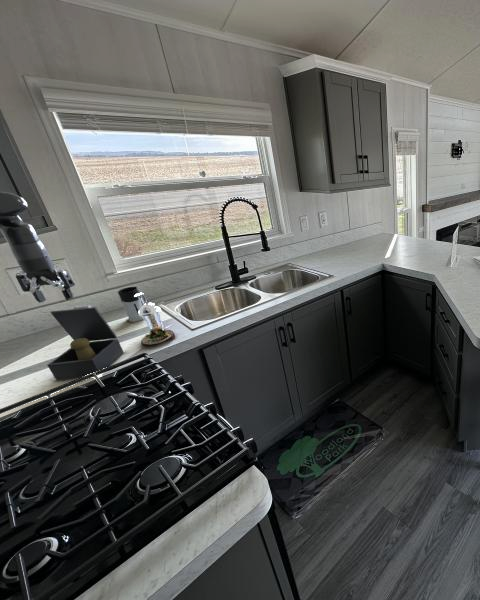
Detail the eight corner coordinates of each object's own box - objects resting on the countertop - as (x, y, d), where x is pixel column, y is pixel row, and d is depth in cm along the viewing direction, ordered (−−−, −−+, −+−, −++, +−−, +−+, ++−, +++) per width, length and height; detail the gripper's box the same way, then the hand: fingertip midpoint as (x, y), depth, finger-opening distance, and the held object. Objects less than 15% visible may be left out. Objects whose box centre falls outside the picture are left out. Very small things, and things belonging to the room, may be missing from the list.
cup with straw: (173, 327, 151) (157, 288, 143) (153, 337, 144) (136, 296, 135) (160, 324, 154) (144, 285, 146) (141, 334, 147) (123, 294, 138)
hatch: (94, 308, 121) (101, 300, 125) (50, 312, 119) (59, 304, 123) (116, 338, 130) (122, 330, 134) (75, 342, 128) (83, 334, 132)
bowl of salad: (135, 348, 136) (128, 333, 133) (154, 333, 147) (148, 319, 144) (164, 347, 136) (158, 331, 133) (180, 332, 147) (175, 317, 144)
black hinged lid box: (100, 375, 121) (92, 359, 118) (56, 380, 119) (46, 365, 116) (124, 352, 134) (117, 338, 131) (84, 357, 132) (77, 343, 129)
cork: (103, 362, 126) (91, 338, 122) (83, 370, 122) (69, 346, 117) (98, 357, 130) (85, 334, 125) (78, 365, 125) (64, 341, 120)
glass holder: (141, 312, 168) (130, 285, 161) (162, 315, 163) (151, 288, 157) (124, 320, 160) (111, 292, 154) (145, 323, 156) (132, 295, 149)
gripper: (-4, 261, 103) (24, 307, 110) (47, 257, 105) (71, 302, 112) (17, 254, 110) (42, 298, 117) (64, 250, 111) (86, 294, 118)
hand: (56, 300), depth 114 cm, fingers open, 8 cm apart
